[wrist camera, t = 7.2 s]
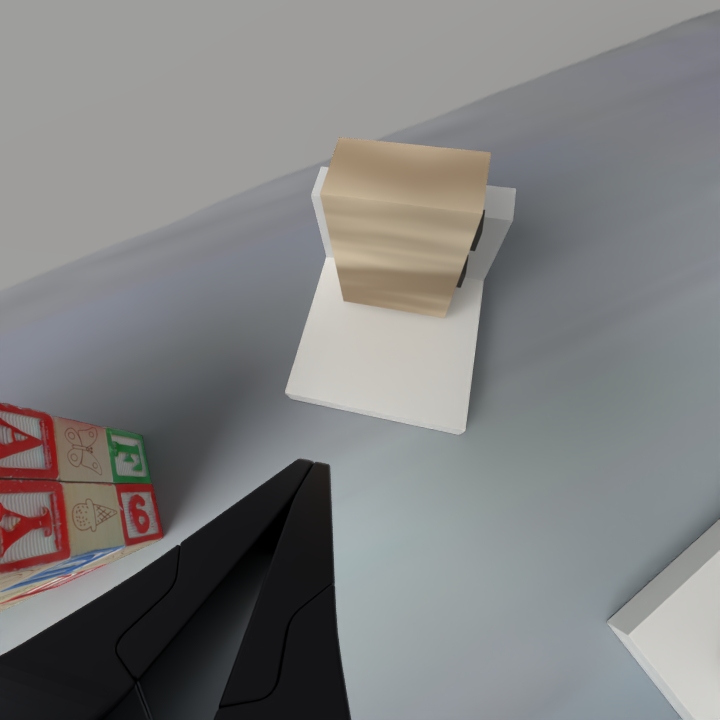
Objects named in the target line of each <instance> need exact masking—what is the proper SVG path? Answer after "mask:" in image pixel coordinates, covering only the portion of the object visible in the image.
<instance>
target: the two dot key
mask: <svg viewBox="0 0 720 720" xmlns="http://www.w3.org/2000/svg"><path fill="white" fill-rule="evenodd" d="M490 156H491V152H482V151H472V150H462V149H452V148H442V147H432V146H422V145H412V144H402V143H392V142H382V141H372V140H362V139H352V138H342V137H339V139H338V142H337V145H336V148H335V151H334V154H333V157H332V159H331V162H330V165H329V168H328V171H327V174H326V177H325V180H324V183H323V186H322V189H321V192H320V197H321V201H322V206H323V210H324V215H325V219H326V224H327V228H328V233H329V237H330V242H331V247H332V251H333V256H334V260H335V265H336V269H337V274H338V278H339V283H340V287H341V292H342V296H343V301H345V302H351V303H357V304H363V305H369V306H375V307H381V308H387V309H393V310H399V311H405V312H411V313H417V314H423V315H429V316H434V317H440V318H445V316H446V313H447V310H448V308H449V305H450V302H451V299H452V297H453V294H454V291H455V288H456V287H458V288H461V286H462V283H463V281H464V278H465V276H466V270H467V263H468V256H469V255H468V253H469V251H475V250H476V247H477V245H478V242H479V240H480V237H481V235H482V231H483V224H484V216H485V210H483V208H484V200H485V193H486V185H487V178H488V170H489V163H490Z"/></svg>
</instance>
